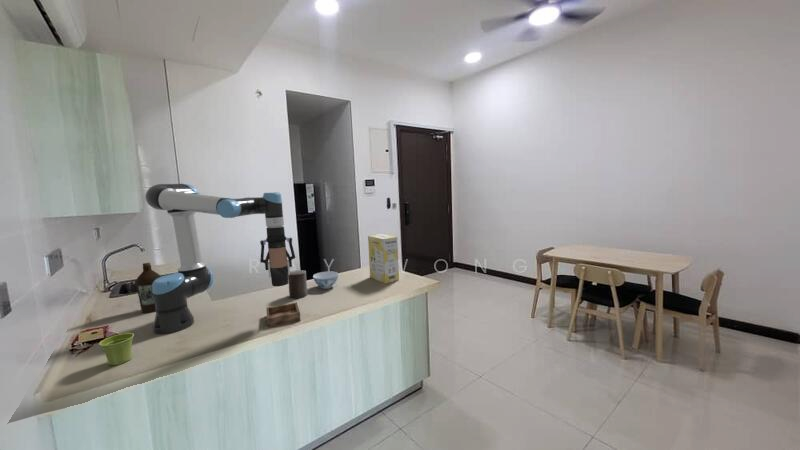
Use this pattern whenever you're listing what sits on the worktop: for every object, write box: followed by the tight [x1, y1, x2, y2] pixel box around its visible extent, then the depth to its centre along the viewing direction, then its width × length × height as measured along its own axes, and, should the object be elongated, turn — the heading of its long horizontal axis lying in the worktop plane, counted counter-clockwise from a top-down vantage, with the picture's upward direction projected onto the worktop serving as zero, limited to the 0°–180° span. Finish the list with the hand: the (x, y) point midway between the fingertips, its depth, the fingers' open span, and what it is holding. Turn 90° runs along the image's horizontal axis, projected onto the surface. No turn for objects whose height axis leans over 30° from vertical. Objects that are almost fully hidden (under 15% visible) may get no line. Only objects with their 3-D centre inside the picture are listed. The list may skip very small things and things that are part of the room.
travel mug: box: [267, 240, 289, 287], centre depth 143 cm, size 8×8×20 cm
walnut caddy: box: [266, 302, 301, 328], centre depth 147 cm, size 14×14×4 cm
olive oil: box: [135, 262, 162, 314], centre depth 163 cm, size 11×11×25 cm
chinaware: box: [312, 270, 339, 290], centre depth 190 cm, size 15×15×8 cm
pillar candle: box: [288, 269, 308, 300], centre depth 176 cm, size 10×10×15 cm
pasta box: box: [367, 233, 400, 285], centre depth 201 cm, size 18×10×28 cm, turn 37°
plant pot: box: [98, 332, 135, 366], centre depth 114 cm, size 9×9×9 cm
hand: (279, 275), depth 144 cm, fingers closed on travel mug, 8 cm apart
